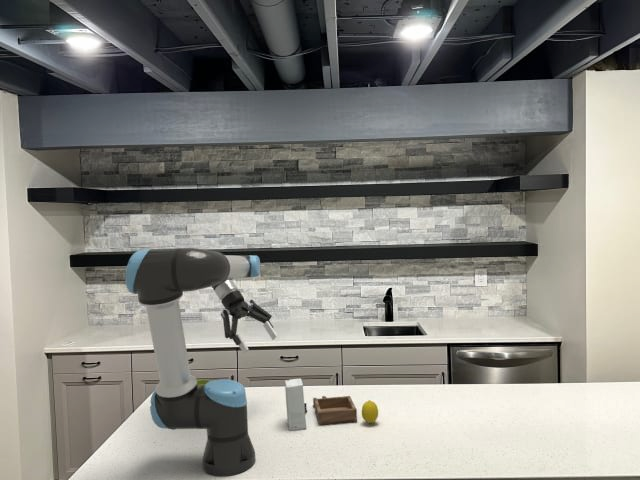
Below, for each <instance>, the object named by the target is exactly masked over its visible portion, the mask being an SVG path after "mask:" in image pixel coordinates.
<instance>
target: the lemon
mask: <svg viewBox="0 0 640 480" xmlns="http://www.w3.org/2000/svg"><path fill="white" fill-rule="evenodd" d="M361 416H362V417H361V418H362V419H363V420H364V421H365V422H366V423H368V424H369V425H371V424H373V423H374V422H376V420H377V419H378V417H379V408H378V406H377V404H376V403H375V402H374V401H372V400H369V399H368V401H365V402H364V403H363V404H362V408H361Z"/></svg>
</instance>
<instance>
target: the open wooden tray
mask: <svg viewBox="0 0 640 480" xmlns="http://www.w3.org/2000/svg"><path fill="white" fill-rule="evenodd" d="M314 400H315V409H314V411H315V413H314V414H315V417H316V419H317V424H318V426H319V427H323V426H325V427H326V426H331V425H332V426H334V425H344V424H354V423H358V412H357V411H358V410H357V408H356V405H355V403H354V402H353V400H352V398H351V396H350V395H347V396H346V395H343V396H334V397H327V398H322V397H321V398H317V399H314Z"/></svg>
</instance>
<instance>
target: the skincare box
mask: <svg viewBox="0 0 640 480" xmlns="http://www.w3.org/2000/svg"><path fill="white" fill-rule="evenodd" d="M284 384H285V385H284V387H285V389H284V390H285V405H286V418H287V424H288V429H289V431H295V430H297V431H298V430H299V431H300V430H306V429H307V422H306V414H305V406H304V403H305V397H304V396H305V395H304V384H303V381H302V378H292V379H286V380H284Z"/></svg>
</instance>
